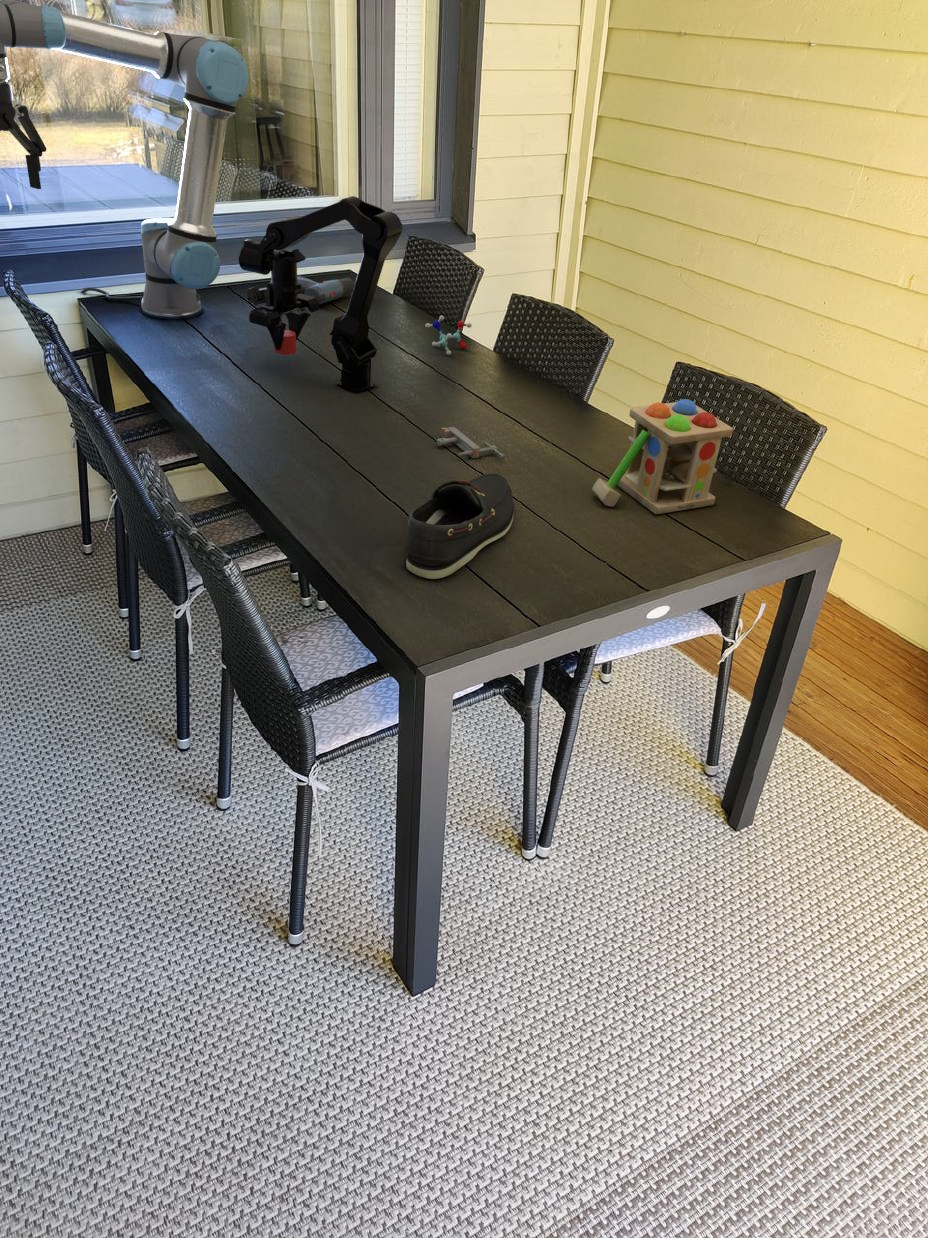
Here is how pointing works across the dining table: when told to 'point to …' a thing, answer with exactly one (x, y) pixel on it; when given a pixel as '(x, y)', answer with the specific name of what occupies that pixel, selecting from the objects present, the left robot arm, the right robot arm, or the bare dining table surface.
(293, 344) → the canister
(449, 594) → the dining table surface
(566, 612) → the dining table surface
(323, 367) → the dining table surface
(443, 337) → the molecular model
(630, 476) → the pounding bench toy
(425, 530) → the boat shoe
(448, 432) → the clamp
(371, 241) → the right robot arm
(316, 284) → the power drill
